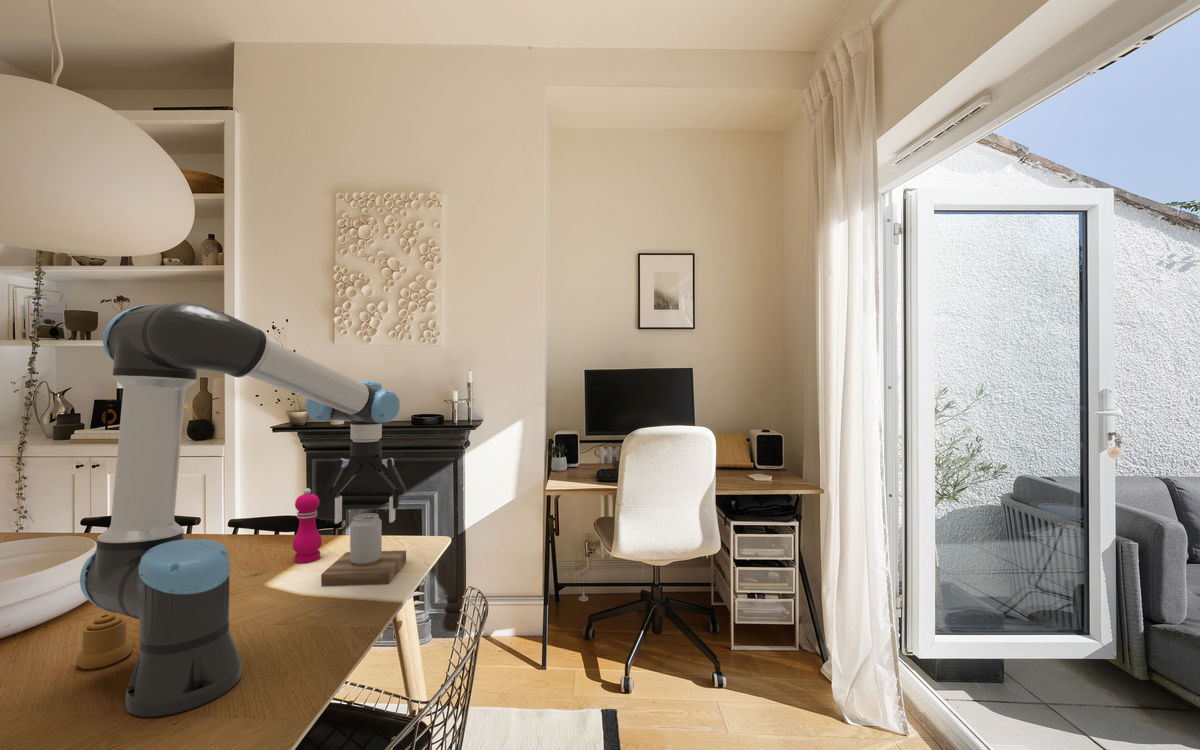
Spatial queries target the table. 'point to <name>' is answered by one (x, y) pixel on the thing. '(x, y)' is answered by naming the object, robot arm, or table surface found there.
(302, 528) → the pepper mill
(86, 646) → the ornamental finial
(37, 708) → the table surface
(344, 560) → the walnut plinth
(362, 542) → the can
